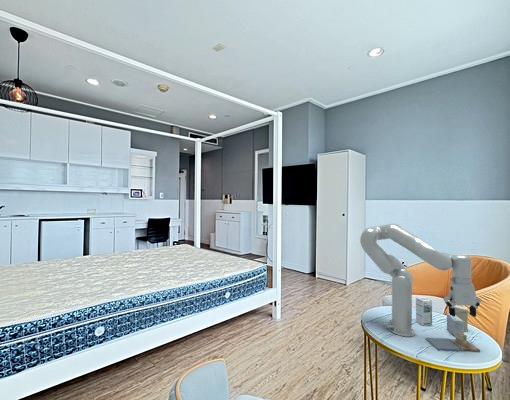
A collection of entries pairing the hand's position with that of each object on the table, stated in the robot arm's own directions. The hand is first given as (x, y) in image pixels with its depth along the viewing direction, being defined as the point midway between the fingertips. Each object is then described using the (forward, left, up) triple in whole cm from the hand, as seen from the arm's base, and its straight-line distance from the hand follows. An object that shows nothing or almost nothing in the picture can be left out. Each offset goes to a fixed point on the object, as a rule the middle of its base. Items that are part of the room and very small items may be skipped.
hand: (462, 315), depth 127 cm
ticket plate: (-9, 0, -15) cm, 17 cm away
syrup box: (-4, +24, -15) cm, 29 cm away
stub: (+1, 0, -15) cm, 15 cm away
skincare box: (+13, +19, -15) cm, 28 cm away
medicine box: (+6, +13, -15) cm, 21 cm away
